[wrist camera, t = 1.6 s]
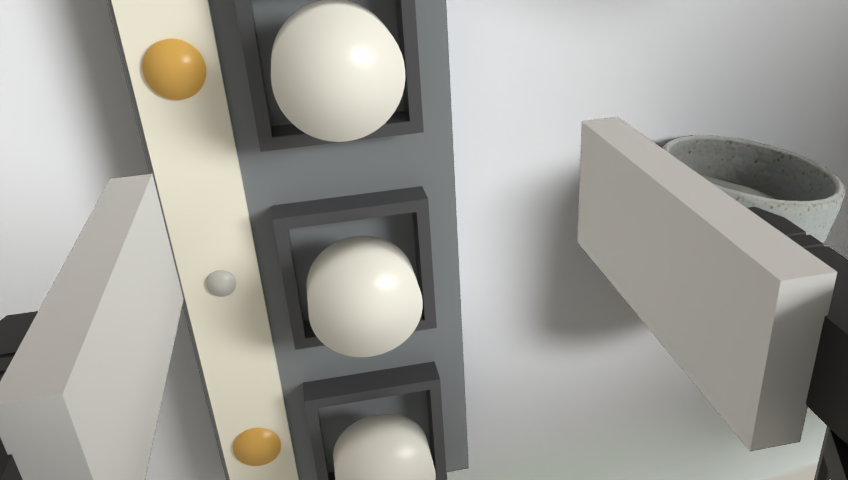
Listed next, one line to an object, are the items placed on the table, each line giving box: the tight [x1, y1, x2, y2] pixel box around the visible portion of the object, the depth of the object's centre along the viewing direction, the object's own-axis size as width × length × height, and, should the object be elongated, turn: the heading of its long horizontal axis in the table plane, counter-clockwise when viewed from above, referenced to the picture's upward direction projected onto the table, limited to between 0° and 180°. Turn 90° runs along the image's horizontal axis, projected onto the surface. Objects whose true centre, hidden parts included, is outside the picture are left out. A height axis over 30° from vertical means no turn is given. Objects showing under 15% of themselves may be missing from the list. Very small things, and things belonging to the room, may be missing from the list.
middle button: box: [306, 235, 423, 357], centre depth 29 cm, size 4×4×2 cm
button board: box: [107, 0, 469, 480], centre depth 32 cm, size 12×26×4 cm, turn 4°
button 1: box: [271, 0, 405, 142], centre depth 25 cm, size 4×4×2 cm
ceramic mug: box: [662, 135, 845, 244], centre depth 34 cm, size 11×8×8 cm
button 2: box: [333, 414, 436, 480], centre depth 33 cm, size 4×4×2 cm
